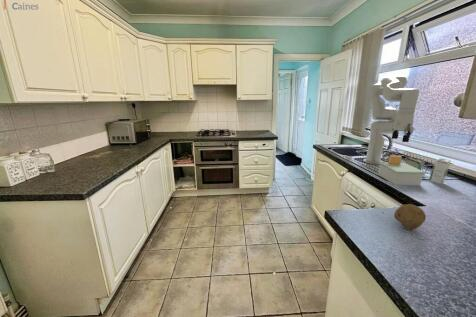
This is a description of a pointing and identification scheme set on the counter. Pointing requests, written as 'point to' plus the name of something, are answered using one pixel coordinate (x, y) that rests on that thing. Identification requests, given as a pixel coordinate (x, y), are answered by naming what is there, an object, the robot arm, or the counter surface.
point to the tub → (400, 177)
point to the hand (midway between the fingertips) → (399, 140)
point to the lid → (400, 166)
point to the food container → (415, 162)
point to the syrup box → (439, 170)
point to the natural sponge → (410, 216)
